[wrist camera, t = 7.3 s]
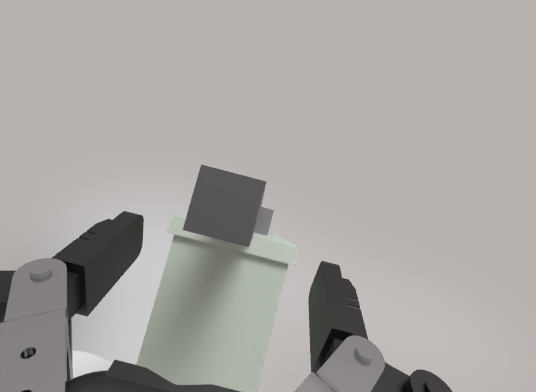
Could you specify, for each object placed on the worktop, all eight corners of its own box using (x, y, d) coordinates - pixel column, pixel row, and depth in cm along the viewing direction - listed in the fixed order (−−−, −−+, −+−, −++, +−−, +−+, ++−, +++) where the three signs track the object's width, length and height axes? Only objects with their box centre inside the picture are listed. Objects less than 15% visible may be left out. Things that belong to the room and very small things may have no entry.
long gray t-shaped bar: (282, 256, 13) (298, 190, 13) (149, 221, 12) (168, 155, 13) (265, 233, 38) (271, 212, 39) (222, 222, 38) (228, 201, 39)
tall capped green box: (193, 679, 21) (299, 247, 24) (46, 644, 21) (172, 214, 24) (225, 451, 42) (279, 236, 45) (152, 432, 42) (212, 218, 45)
